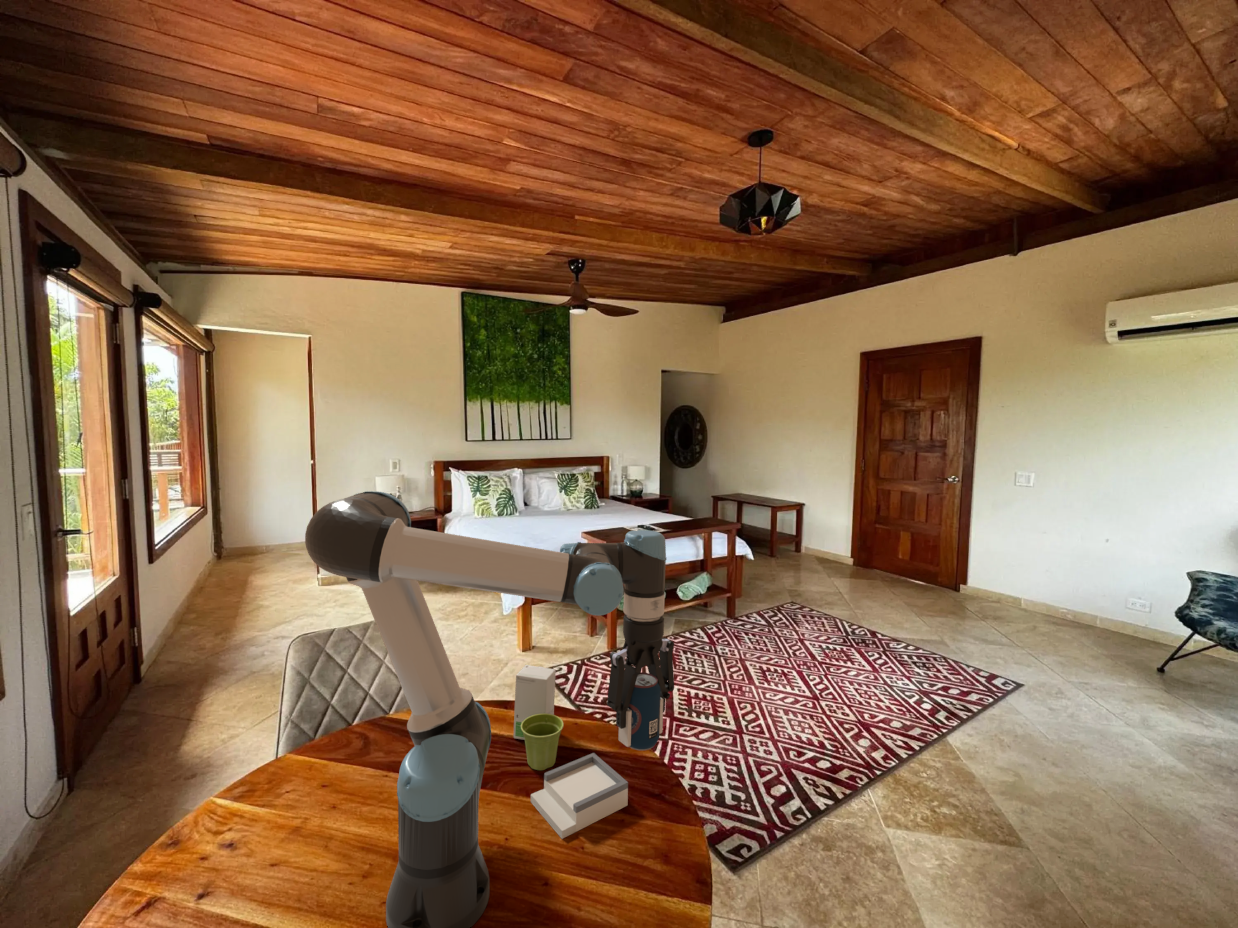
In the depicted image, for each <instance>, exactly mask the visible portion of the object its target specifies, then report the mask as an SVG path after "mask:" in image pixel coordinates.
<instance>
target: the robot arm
mask: <svg viewBox="0 0 1238 928" xmlns="http://www.w3.org/2000/svg"><path fill="white" fill-rule="evenodd" d="M624 536H625V538H624V539H623V542H622V541H621V542H581V541H577V542H572V543H569V542H568V543H564V544H562V545H561V546H560V548H559V551H555V550H549V549H544V548H537V547H532V546H526V545H518V544H513V543H508V542H507V543H506V542H500V541H494V540H490V539H482V538H477V537H470V536H464V535H460V534H459V535H458V534H454V533H448V532H447V533H446V532H440V531H434V530H430V529H423V528H417V527H412V519H411V515H410V512H409V510H408V508H407V507H406V505H405V504H404V503H403V501H402V500H401V499H399V498H398V497H396V496H394V495H392V494H390V493H387V492H385V491H384V492H383V491H372V490H371V491H370V490H369V491H368V490H367V491H364V492H363V491H362V492H357V493H355V494H353V495H351V496H348V497H344V498H340V499H336V500H334V501H331V502H328V503H327V504H325V505H324V506H322V507H321V508H320V509H318V510H317V511H316V512H315V513H314V515H313V516H312V517H311V518H310V519H309V522H308V524H307V527H306V529H305V535H304V543H305V548H306V551H307V554H308V556H309V558H310V559H311V560H312V562H314V563H315V565H316V566H318V567H319V568H320V569H322V570H323V571H325V572H328V574H329V573H330V574H333V575H336V576H339V577H343V578H346V580H347V582H348V584H350V585H354V586H357V587H359V588H360V589H361V590H362V592H363V594H364V595H363V596H364V598H365V600H366V602H367V604H368V607H369V610H370V612H371V615H372V617H373V620H374V622H375V625H376V627H377V629H378V632H379V635H380V637H381V639H382V642H383V645H384V647H385V649H386V651H387V654H388V657H389V659H390V662H391V664H392V667H393V669H394V672H395V673H396V676H397V679H398V682H399V683H400V686H401V688H402V692H403V694H404V696H405V699H406V701H407V703H408V704H407V705H409V709H410V710H411V714H410V716H409V718H408V721H407V723H406V728H407V731H408V733H409V736H410V739H411V741H412V743H413V745H414V746H413V747H412V748H411V749H410V750H409V751H408V753H406V755H405V756H404V758H403V759H402V762H401V765H400V767H399V771H398V772H399V773H398V777H397V778H398V779H397V783H396V788H397V790H396V791H397V792H396V796H397V805H398V806H397V811H398V812H397V815H398V816H397V817H398V822H397V823H398V826H397V827H398V828H397V829H398V836H397V837H398V840H397V841H398V862H397V865H396V868H395V871H394V874H393V877H392V880H391V883H390V886H389V889H388V892H387V896H386V902H385V922H386V926H388V927H387V928H470V927H471V928H472V927H473V926H474V925H475V924H476V923H477V922H478V920H479V919H480V918H481V916H482V915H483V913H484V912H485V910H486V908H487V905H488V903H489V898H490V873H489V869H488V867H487V864H486V861H485V858H484V855H483V853H482V850H481V847H480V846H479V799H480V792H481V787H482V781H483V777H484V776H483V775H484V772H485V766H486V761H487V758H488V752H489V750H490V746H491V741H492V728H491V720H490V718H489V715H488V713H487V711H486V709H485V708H484V707H483V706H482V705H481V704H480V703H479V702H477V701H475V699H474V696H473V694H472V692H471V690H469V689H466V688H463V687H460V686H459V683H458V680H457V678H456V675H455V672H454V670H453V667H452V664H451V662H450V660H449V657H448V655H447V652H446V650H445V647H444V644H443V641H442V639H441V636H440V634H439V632H438V629H437V626H436V623H435V621H434V619H433V617H432V614H431V611H430V609H429V607H428V604H427V601H426V598H425V595H424V593H423V590H422V588H421V586H420V583H419V582H424V583H432V584H438V585H444V586H451V587H456V588H457V587H458V588H463V589H465V588H466V589H471V590H479V591H485V592H493V593H497V594H503V595H504V594H505V595H512V596H520V597H525V598H531V599H532V598H533V599H539V600H544V601H545V600H546V601H550V602H551V601H552V602H558V603H564V604H571V605H575V606H576V605H577V606H578V607H579V608H580V609H581V610H582V611H584V612H585V613H587V614H589V615H592V616H604V615H607V614H610V613H611V612H613V611H614V610H615V609H617V608H618V606H619V605H620V603H621V602H622V599H623V607H622V608H623V613H624V616H623V621H622V622H623V623H622V624H623V626H622V627H623V628H622V634H623V638H624V644H623V646H622V650H619V651H618V652H614V651H611V652H610V653H609V661H610V664H611V665H610V674H609V682H608V690H607V698H606V705H607V706H608V707H609V708H610V709H612V710H613V711H615V712H616V713H615V715H616V716H615V717H616V718H615V724H616V727H618V738H617V739H618V741H619V742H620V743H621V744H623V745H624V746H625V747H627V748H630V747H629V746H631V715H632V711H631V710H630V709H628V707H629V704H630V700H631V697H632V693H633V690H634V686H635V683H636V680H637V676H638V674H640V673H641V672H642V669H643V668H644V667H646V666H647V671H648V673H649V674H652V675H653V676H655V677H657V679H658V684H659V686H660V689H661V693H660V733H659V735H660V734H662V733H663V729H664V728H663V726H664V725H663V720H664V713H665V711H666V700H668V699H669V698H670V697H671V694H670V693H669V692H673V691H674V690H675V675H674V674H675V673H674V662H673V661H674V660H673V651H674V646H675V642H674V641H673V640H672V639H671V640H670V639H668V638H666V637H664V634H665V632H664V631H665V618H664V615H665V614H664V613H665V598H666V597H665V596H666V595H665V594H666V593H665V588H666V587H665V586H666V564H667V563H666V562H667V552H666V551H667V550H666V549H667V548H666V537H665V536H664V535H663V534H662V533H660V532H658V531H656V530H655V531H654V530H650V529H649V530H648V529H646V530H645V529H642V530H641V529H639V530H630V531H628V532H627V533H626V534H625V535H624Z"/></svg>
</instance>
